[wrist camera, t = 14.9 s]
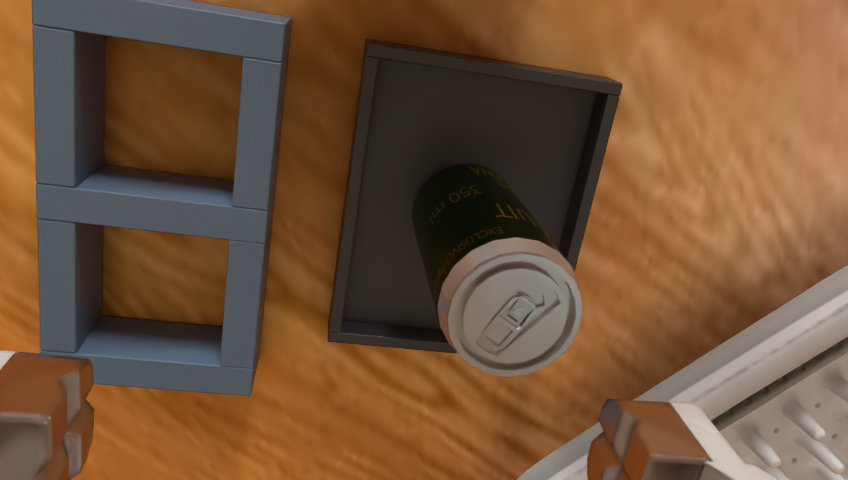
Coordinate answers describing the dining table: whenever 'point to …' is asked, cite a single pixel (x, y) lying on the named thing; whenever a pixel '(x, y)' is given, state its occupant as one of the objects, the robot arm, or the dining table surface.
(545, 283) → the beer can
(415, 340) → the tray
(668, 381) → the dish rack
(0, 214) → the dining table surface
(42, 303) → the frame
